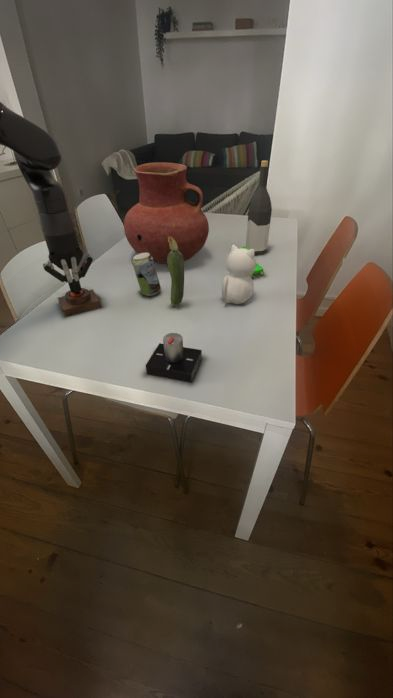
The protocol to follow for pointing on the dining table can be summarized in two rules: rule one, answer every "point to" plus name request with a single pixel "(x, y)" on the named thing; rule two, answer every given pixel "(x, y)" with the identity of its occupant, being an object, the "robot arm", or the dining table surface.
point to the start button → (77, 294)
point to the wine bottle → (259, 215)
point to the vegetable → (176, 272)
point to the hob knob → (173, 347)
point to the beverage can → (146, 274)
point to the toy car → (258, 268)
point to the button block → (79, 302)
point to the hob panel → (174, 364)
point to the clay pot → (165, 213)
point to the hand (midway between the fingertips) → (76, 292)
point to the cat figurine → (239, 276)
